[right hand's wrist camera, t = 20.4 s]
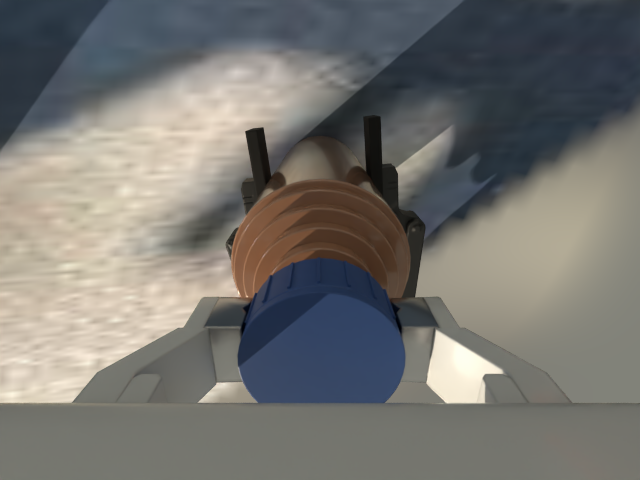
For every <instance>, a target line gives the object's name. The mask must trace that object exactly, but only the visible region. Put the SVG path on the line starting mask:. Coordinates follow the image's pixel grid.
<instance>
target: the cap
mask: <svg viewBox="0 0 640 480" xmlns="http://www.w3.org/2000/svg"><path fill="white" fill-rule="evenodd" d="M245 323H246V326H245V329H244V332H243V335H242V338H241V341H240V344H239V349H238V368H239V373H240V376H241V379H242V381H243V383H244V385H245V387H246V389H247V390H248V392H249V393H250V394H251V396H252V397H253V398H254V399H255V400H256V401H257V402H258V403H385V402H386V401H387V400H388V399H389V398H390V397H391V395H392V394H393V393H394V392H395V390H396V389H397V387H398V385H399V383H400V381H401V379H402V376H403V373H404V368H405V360H406V354H405V347H404V343H403V340H402V337H401V334H400V331H399V328H398V325H397V323H396V316H395V314H394V311H393V308H392V305H391V303H390V300H389V297H388V294H387V291H386V290H385V289H382V287H381V286H380V284H379V283H378V282H377V281H376V280H375V279H374V278H373V277H372V276H371V274H370V273H369V272H366V271H364V270H362V269H361V268H359V267H357V266H355V265H353V264H350V263H347V261H340V260H335V259H326V258H320V257H317V258H316V259H308V260H302V261H299V262H296V263H294V262H292V263H291V264H290V265H288V266H286V267H284V268H282V269H280V270H279V271H277V272H276V273H274V274H273V275H270V276H269V277H268V279H267V281H266V282H265V283H264V284H263V285H262V286H261V288H260V289H259V291H258V293H255V294H254V297H253V300H252V303H251V305H250V308H249V311H248V314H247V317H246V320H245Z"/></svg>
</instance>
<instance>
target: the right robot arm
mask: <svg viewBox="0 0 640 480" xmlns="http://www.w3.org/2000/svg"><path fill="white" fill-rule="evenodd" d="M252 300H253V298H240V297H204V298H202V299H201V300H200V302H199V303H198V305H197V307H196V308H195V310H194V311H193V313H192V315H191V316H190V318H189V320H188V321H187V323H186V324H185V326H184V328H177V329H175V330H174V331H172V332H170V333H168V334H166V335H164V336H163V337H161V338H159V339H157V340H155V341H154V342H152V343H150V344H148V345H146V346H144V347H143V348H141V349H139V350H137V351H135V352H134V353H132V354H130V355H128V356H126V357H124V358H123V359H121V360H119V361H117V362H115V363H114V364H112V365H110V366H108V367H106V368H104V369H103V370H101V371H99V372H97V373H96V375H95V376H94V377H93V378H92V379H91V381H90V382H89V383H88V384H87V385H86V387H85V388H84V389H83V390H82V391H81V393H80V394H79V395H78V396H77V397H76V398H75V400H74V401H73V402H72V403H0V480H640V403H572V402H571V401H570V399H569V398H568V397H567V396H566V395H565V393H564V392H563V391H562V390H561V389H560V388H559V386H558V385H557V384H556V383H555V382H554V380H553V379H552V378H551V377H550V376H549V375H548V373H546V372H545V371H543V370H541V369H539V368H537V367H535V366H534V365H532V364H530V363H528V362H526V361H524V360H523V359H521V358H519V357H517V356H515V355H513V354H512V353H510V352H508V351H506V350H504V349H502V348H501V347H499V346H497V345H495V344H493V343H491V342H490V341H488V340H486V339H484V338H482V337H481V336H479V335H477V334H475V333H473V332H471V331H469V330H468V329H466V328H459V326H458V325H457V323H456V321H455V320H454V318H453V317H452V315H451V314H450V312H449V310H448V309H447V307H446V306H445V304H444V303H443V301H442V300H441V298H439V297H416V298H389V300H390V303H391V305H392V308H393V311H394V314H395V316H396V323H397V325H398V328H399V331H400V334H401V337H402V340H403V343H404V347H405V354H406V360H405V368H404V373H403V376H402V379H401V381H400V382H426V383H427V385H428V386H429V387H430V388H431V389H432V390H433V391H434V392H435V393H437V394H438V395H439V396H440V397H441V398H442V399H443V400H444V401H445V402H446V403H197V402H198V401H199V400H200V399H202V398H203V397H204V396H205V395H206V394H207V393H208V392H209V391H210V390H211V389H212V388H213V387H214V386H215V385H216V383H217V382H243V381H242V379H241V376H240V373H239V368H238V349H239V344H240V341H241V338H242V335H243V332H244V329H245V326H246V323H245V320H246V317H247V314H248V311H249V308H250V305H251V303H252Z"/></svg>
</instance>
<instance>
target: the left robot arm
mask: <svg viewBox="0 0 640 480" xmlns="http://www.w3.org/2000/svg"><path fill="white" fill-rule="evenodd" d="M363 117H364V136H365V155H366V173H367V174H368V176H369V177H370V178H371V180H372V181H373V183H374V184H375V186H376V187H377V189H378V190H379V192H380V193H381V194H382V196H383V197H384V199H385V200H386V202H387V203H388V205H389V206H390V208H391V209H392V210H393V212H394V213H395V215H396V216H397V218H398V220H399V221H400V223H401V224H402V226H403V229H404V231H405V233H406V236H407V239H408V243H409V248H410V257H411V259H410V271H409V277H408V280H407V283H406V287H405V290H404V293H403V295H402V297H401V298H415V294H416V287H417V280H418V274H419V267H420V260H421V254H422V247H423V240H424V234H425V224H424V223H423V222H422V220H421V219H420V218H419V217H418V216H417V215H416V214H415V213H414V212H413V211H404V210H401V209H399V207H398V173H397V171H396V169H395V167H394V166H393V165H392V164H382V147H381V118H380V116H375V115H372V116H363ZM245 133H246V138H247V144H248V149H249V155H250V161H251V166H252V172H253V178H247V179H246V180H245V181H244V182H243V183H242V188H241V192H242V197H243V202H244V207H245V212H246V215H247V213H248V212H249V210H250V208H251V207H252V205H253V204H254V202H255V201H256V199H257V198H258V196H259V195H260V193H261V192H262V190H263V189H264V187H265V186H266V184H267V183H268V181H269V180H270V178H271V173H270V166H269V160H268V154H267V147H266V141H265V135H264V128H253V129H250V130H248V131H245ZM238 228H239V227H238ZM238 228H236V229H235V230H234V231H233V233H232V234H231V236H230V237H229V239H228V240H227V242H226V249H227V251H228V254H229V257H230V259H231V254H232V246H233V242H234V238H235V235H236V233H237V231H238Z"/></svg>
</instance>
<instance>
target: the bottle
mask: <svg viewBox="0 0 640 480" xmlns="http://www.w3.org/2000/svg"><path fill="white" fill-rule="evenodd" d="M317 257H320V258H326V259H335V260H340V261H347V263H350V264H353V265H355V266H357V267H359V268H361V269H362V270H364V271H366V272H369V273H370V274H371V276H372V277H373V278H374V279H375V280H376V281H377V282H378V283H379V284H380V286H381V287H382V289H385V290H386V291H387V294H388V297H389V298H401V297H402V295H403V293H404V290H405V287H406V283H407V280H408V277H409V271H410V259H411V257H410V248H409V243H408V239H407V236H406V233H405V231H404V229H403V226H402V224H401V223H400V221H399V220H398V218H397V216H396V215H395V213H394V212H393V210H392V209H391V208H390V206H389V205H388V203H387V202H386V200H385V199H384V197H383V196H382V194H381V193H380V192H379V190H378V189H377V187H376V186H375V184H374V183H373V181H372V180H371V178H370V177H369V176H368V174H367V173H366V171H365V170H364V168H363V167H362V165H361V164H360V162H359V161H358V160H357V158H356V157H355V155H354V154H353V152H352V151H351V150H350V149H349V148H348V147H347V146H346V145H345V144H343V143H342V142H340V141H339V140H337V139H334V138H331V137H326V136H314V137H309V138H306V139H304V140H302V141H300V142H298V143H297V144H296V145H294V146H293V147H292V148H291V149H290V150H289V152H288V153H287V154H286V156H285V157H284V159H283V160H282V162H281V163H280V165H279V166H278V168H277V169H276V171H275V172H274V174H273V175H272V177H271V178H270V180H269V181H268V183H267V184H266V186H265V187H264V189H263V190H262V192H261V193H260V195H259V196H258V198H257V199H256V201H255V202H254V204H253V205H252V207H251V208H250V210H249V212H248V213H247V215H246V216H245V218H244V219H243V221H242V223H241V224H240V226H239V228H238V231H237V233H236V235H235V238H234V242H233V246H232V254H231V267H232V273H233V279H234V282H235V285H236V288H237V290H238V293H239V296H240V298H253V297H254V294H255V293H258V291H259V289H260V288H261V286H262V285H263V284H264V283H265V282H266V281H267V279H268V277H269V276H270V275H273V274H274V273H276V272H277V271H279V270H280V269H282V268H284V267H286V266H288V265H290V264H291V263H292V262H294V263H296V262H299V261H302V260H308V259H316V258H317Z"/></svg>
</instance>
